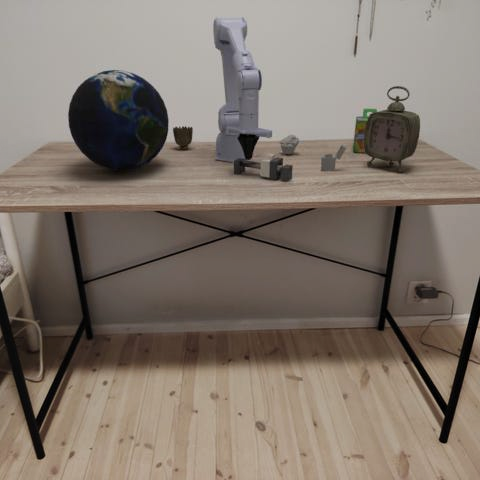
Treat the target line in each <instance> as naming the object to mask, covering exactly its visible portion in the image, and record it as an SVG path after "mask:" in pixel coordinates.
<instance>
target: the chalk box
mask: <svg viewBox="0 0 480 480" xmlns="http://www.w3.org/2000/svg"><path fill="white" fill-rule="evenodd" d="M362 111H363V112H362V116H356V117H355V125H354V135H353V143H352V152H353V153H358V154H359V153H361V154H366V153H365V149H364V137H365V129H366V124H367V120H368V118H369V116H370V115H368V113H369V112H370V113H371V114H372V113H375V112H378V109H377V108H363V110H362Z"/></svg>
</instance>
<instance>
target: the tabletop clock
mask: <svg viewBox="0 0 480 480" xmlns="http://www.w3.org/2000/svg"><path fill="white" fill-rule="evenodd" d="M394 89H396V90H397V89H399V90H403V91H405V92H406V93H407V96H406V97H405V98H400V96H399V95H396V97H395V98H394V97H392V96H390V94H389V93H390V92H391V91H392V90H394ZM386 96H387V97H388V99H389V100H392V101H393V102H391V103H390V104H389V105H388V106H387V108H386V109H383V110H380V111H377V112H375V113H372V112H371V113H369V115H368V116H369V118H368V120H367V124H366V129H365V137H364V149H365V153H364V154H365V155H367V156H369V157H371V159H370V160H369V161H366V166H368V167H371V166H372V164H373V161H374V160H375V159H376V160H377V159H378V160H381V161H388V164H387V165H388V166H389V167H393V166H394V162H398V168H397V172H398V173H403V172H404V168H403V167H402V161H403V160H407V159H408V158H410V157H412V156H413V155H414V154H415V152H416V150H417V146H418V143H419V139H420V132H421V118H420V115H419V114H417V113H415V112H413V111H409V110H406V108H405V105H404V104H403V103H402V102H403V101H406V100H407V99H409V98H410V91H409V89H408V88H406V87H404V86H398V85H395V86H392V87H390V88H389V89H388V90H387V93H386Z"/></svg>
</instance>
